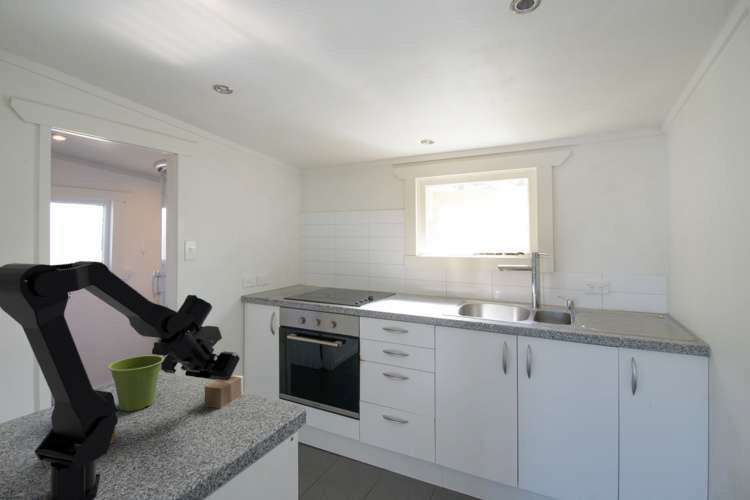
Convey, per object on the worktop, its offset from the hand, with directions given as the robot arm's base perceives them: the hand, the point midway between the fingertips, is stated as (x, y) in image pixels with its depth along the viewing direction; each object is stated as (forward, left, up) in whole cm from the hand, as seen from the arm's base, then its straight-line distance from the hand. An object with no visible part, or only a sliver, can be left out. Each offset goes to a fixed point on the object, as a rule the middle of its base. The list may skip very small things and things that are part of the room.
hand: (216, 378), depth 91 cm
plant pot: (+10, +17, -7) cm, 21 cm away
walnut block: (-1, +1, -4) cm, 5 cm away
